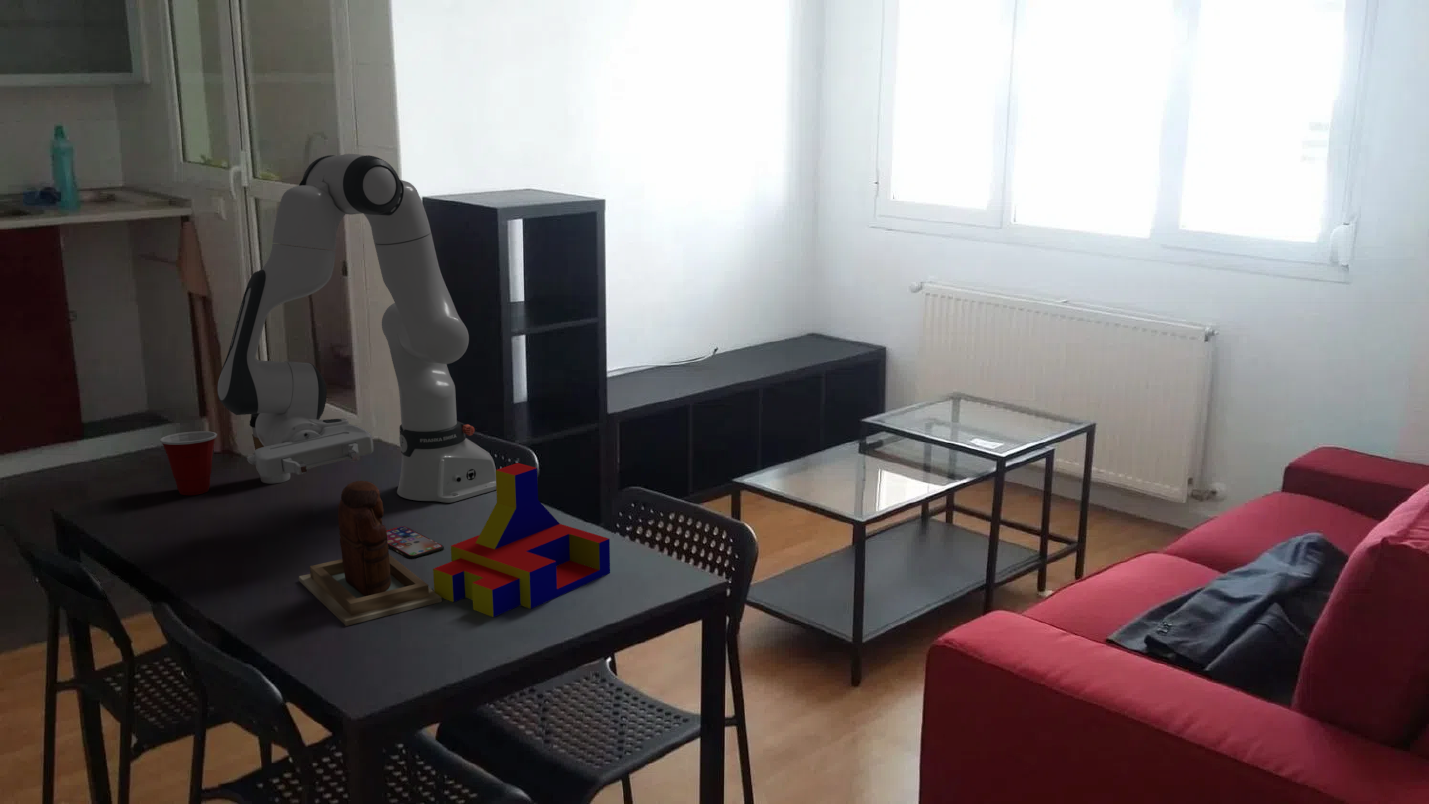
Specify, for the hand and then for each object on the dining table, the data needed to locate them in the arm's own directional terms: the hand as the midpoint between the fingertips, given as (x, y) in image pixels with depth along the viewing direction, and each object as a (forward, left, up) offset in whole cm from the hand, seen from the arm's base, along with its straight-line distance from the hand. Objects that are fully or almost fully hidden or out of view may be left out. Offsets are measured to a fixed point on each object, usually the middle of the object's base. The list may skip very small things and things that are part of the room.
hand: (329, 463), depth 215 cm
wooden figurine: (0, +14, -18) cm, 23 cm away
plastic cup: (+10, -55, -19) cm, 59 cm away
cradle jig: (0, +15, -19) cm, 24 cm away
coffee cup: (-6, -53, -19) cm, 57 cm away
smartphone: (-14, -2, -19) cm, 24 cm away
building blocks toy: (-22, +26, -19) cm, 39 cm away
